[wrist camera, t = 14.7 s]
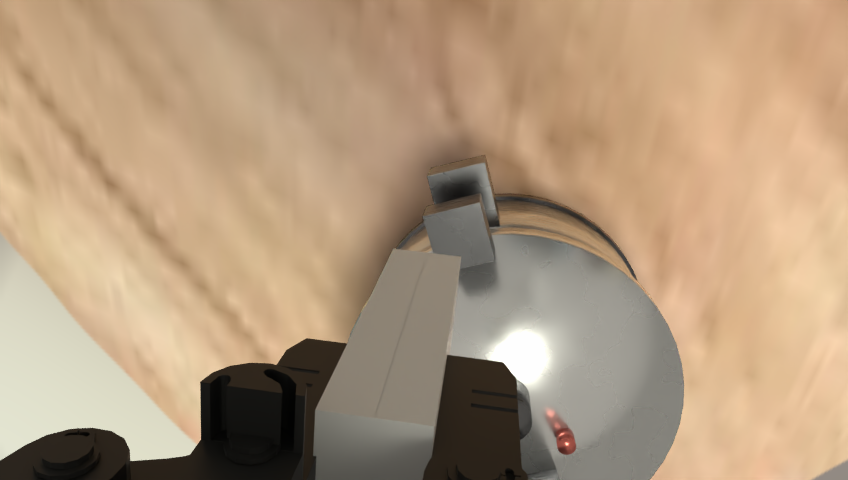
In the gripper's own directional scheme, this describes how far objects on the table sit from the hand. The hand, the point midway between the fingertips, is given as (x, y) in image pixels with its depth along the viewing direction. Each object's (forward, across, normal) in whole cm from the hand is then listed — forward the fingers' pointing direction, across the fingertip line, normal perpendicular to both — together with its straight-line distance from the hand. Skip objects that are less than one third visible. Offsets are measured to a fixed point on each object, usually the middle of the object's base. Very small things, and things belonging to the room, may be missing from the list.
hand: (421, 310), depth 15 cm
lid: (+20, +5, -16) cm, 26 cm away
